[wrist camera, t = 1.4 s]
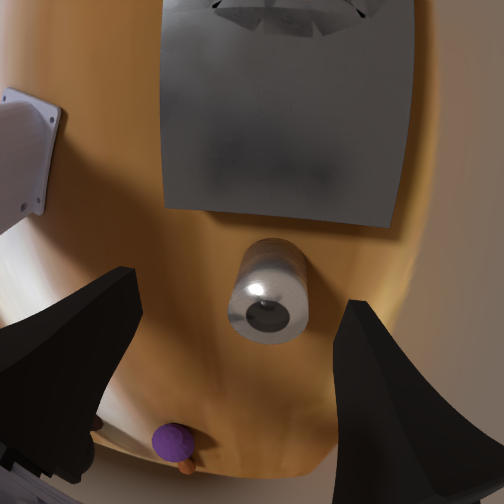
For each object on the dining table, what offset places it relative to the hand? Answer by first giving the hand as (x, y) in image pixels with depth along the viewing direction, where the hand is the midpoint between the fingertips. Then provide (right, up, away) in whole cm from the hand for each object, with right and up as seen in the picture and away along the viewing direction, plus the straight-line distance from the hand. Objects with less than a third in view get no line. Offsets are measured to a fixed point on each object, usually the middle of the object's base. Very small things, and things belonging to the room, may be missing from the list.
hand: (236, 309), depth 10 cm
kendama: (-11, -29, +30) cm, 43 cm away
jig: (+2, +14, +3) cm, 14 cm away
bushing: (+2, +1, +10) cm, 11 cm away
